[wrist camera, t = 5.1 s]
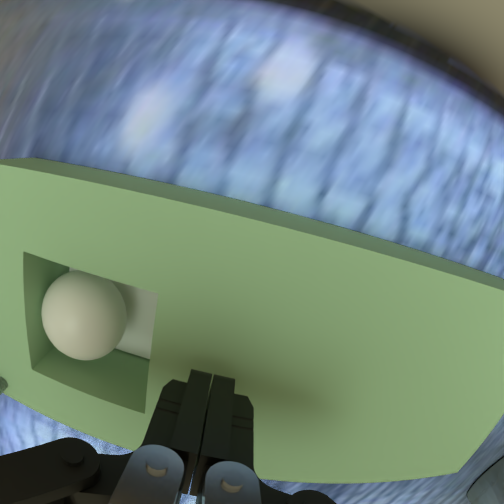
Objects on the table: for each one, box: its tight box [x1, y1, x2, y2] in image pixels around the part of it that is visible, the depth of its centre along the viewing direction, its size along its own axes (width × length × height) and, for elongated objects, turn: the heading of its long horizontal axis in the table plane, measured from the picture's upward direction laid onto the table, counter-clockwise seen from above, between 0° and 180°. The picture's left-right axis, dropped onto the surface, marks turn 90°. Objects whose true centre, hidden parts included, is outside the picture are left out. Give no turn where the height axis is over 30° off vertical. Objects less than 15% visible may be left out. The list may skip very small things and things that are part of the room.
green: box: [0, 158, 504, 483], centre depth 13 cm, size 28×12×4 cm, turn 76°
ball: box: [41, 270, 127, 360], centre depth 13 cm, size 4×4×4 cm
